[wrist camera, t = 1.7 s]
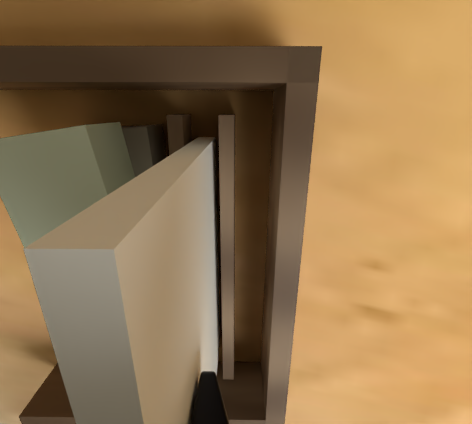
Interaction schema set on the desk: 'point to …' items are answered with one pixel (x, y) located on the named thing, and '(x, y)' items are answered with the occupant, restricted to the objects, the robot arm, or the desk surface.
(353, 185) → the desk surface
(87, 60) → the tray
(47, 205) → the offcut upper
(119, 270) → the sheet
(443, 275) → the desk surface
